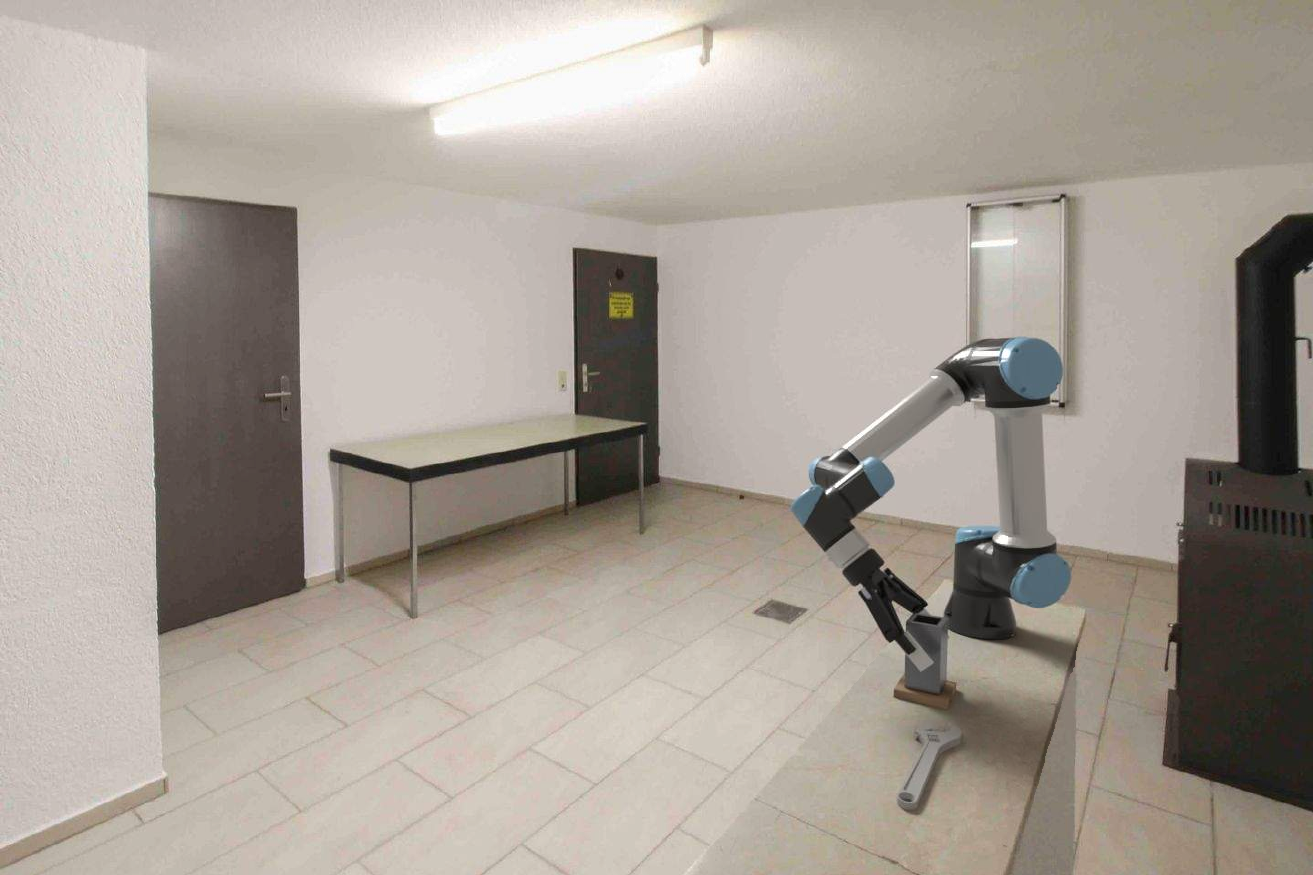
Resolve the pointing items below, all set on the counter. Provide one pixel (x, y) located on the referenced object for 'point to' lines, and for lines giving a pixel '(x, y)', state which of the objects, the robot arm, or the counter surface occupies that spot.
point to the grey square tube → (928, 653)
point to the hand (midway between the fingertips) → (936, 653)
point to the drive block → (926, 694)
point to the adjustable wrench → (925, 761)
